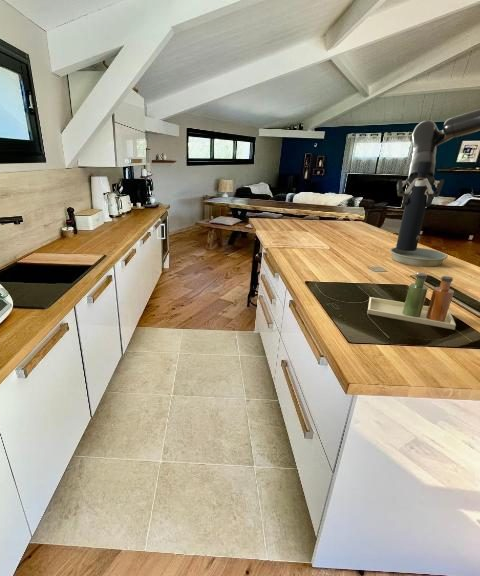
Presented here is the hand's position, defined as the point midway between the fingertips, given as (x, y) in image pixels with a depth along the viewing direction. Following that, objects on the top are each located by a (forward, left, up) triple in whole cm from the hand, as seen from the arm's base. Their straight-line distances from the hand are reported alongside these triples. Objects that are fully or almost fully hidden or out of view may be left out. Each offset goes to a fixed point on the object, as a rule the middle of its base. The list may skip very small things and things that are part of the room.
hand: (416, 204), depth 109 cm
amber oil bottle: (-11, +19, -33) cm, 40 cm away
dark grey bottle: (0, -2, -16) cm, 17 cm away
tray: (-3, +19, -34) cm, 39 cm away
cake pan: (-10, -58, -34) cm, 68 cm away
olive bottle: (-4, +19, -33) cm, 39 cm away
